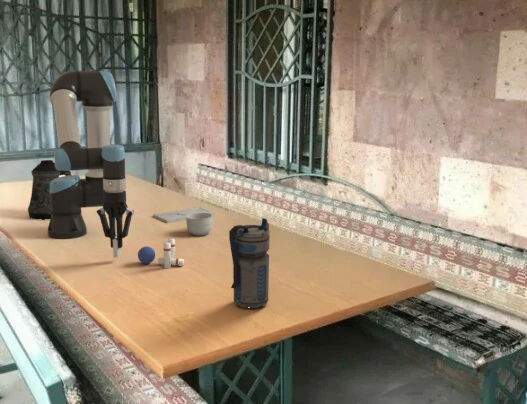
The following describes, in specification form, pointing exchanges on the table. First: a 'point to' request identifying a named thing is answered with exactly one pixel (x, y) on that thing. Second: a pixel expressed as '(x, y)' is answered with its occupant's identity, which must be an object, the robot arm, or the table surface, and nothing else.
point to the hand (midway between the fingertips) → (117, 256)
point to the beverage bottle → (250, 264)
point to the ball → (146, 255)
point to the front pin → (172, 262)
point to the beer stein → (43, 189)
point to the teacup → (199, 223)
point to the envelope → (179, 214)
